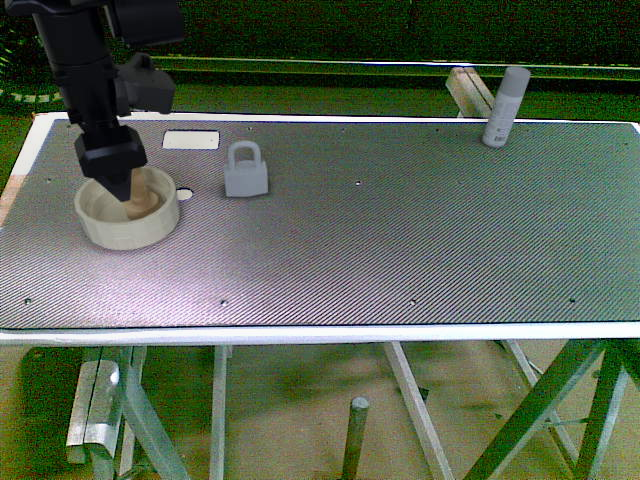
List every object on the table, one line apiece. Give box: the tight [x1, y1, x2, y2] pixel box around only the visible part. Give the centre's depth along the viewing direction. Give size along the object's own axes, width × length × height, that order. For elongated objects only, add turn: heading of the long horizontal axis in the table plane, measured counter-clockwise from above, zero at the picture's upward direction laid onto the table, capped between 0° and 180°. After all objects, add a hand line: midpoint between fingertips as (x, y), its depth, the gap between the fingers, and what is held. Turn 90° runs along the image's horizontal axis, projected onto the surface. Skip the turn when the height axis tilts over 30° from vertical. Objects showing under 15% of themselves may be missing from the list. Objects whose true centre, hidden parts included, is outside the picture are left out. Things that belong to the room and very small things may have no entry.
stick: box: [123, 167, 160, 221], centre depth 71 cm, size 5×5×13 cm
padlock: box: [222, 139, 269, 198], centre depth 79 cm, size 7×4×10 cm, turn 102°
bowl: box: [73, 165, 181, 251], centre depth 74 cm, size 14×14×6 cm
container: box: [481, 65, 532, 149], centre depth 93 cm, size 5×5×15 cm
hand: (117, 178), depth 58 cm, fingers open, 9 cm apart
